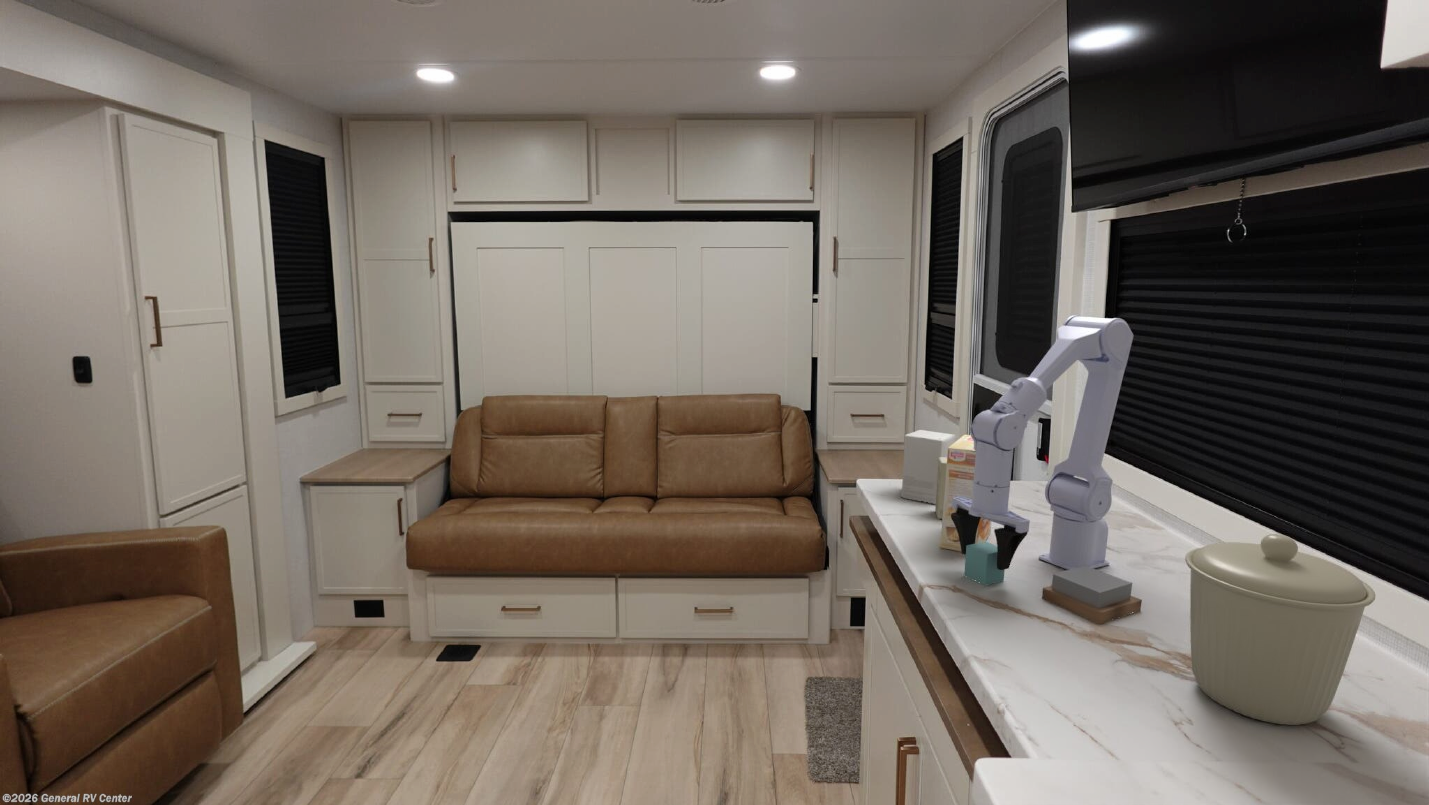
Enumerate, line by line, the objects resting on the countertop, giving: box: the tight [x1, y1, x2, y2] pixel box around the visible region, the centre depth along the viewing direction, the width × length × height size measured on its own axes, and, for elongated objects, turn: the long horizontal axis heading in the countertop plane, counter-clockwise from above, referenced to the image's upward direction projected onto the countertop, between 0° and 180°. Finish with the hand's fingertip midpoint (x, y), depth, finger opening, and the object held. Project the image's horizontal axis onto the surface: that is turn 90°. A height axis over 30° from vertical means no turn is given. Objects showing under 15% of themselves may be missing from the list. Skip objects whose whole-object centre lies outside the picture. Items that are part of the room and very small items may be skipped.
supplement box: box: [901, 429, 957, 505], centre depth 174 cm, size 9×9×15 cm
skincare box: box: [934, 457, 947, 520], centre depth 161 cm, size 6×4×12 cm
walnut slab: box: [1041, 585, 1143, 625], centre depth 119 cm, size 10×10×2 cm
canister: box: [1184, 533, 1376, 726], centre depth 90 cm, size 18×18×21 cm
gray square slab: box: [1051, 566, 1133, 608], centre depth 118 cm, size 8×8×2 cm
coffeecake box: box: [939, 434, 992, 553], centre depth 145 cm, size 15×7×20 cm, turn 150°
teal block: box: [963, 541, 1006, 586], centre depth 128 cm, size 4×4×6 cm
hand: (984, 560), depth 128 cm, fingers open, 7 cm apart
